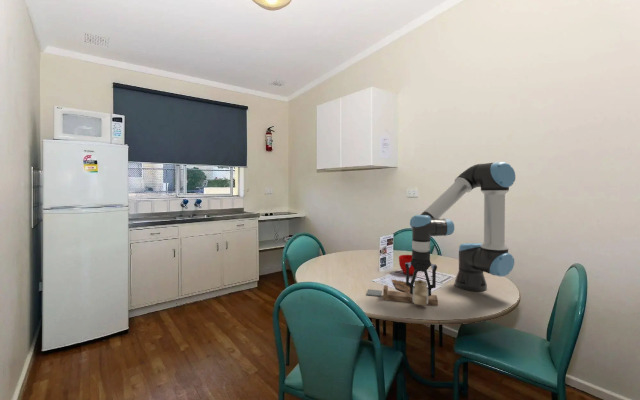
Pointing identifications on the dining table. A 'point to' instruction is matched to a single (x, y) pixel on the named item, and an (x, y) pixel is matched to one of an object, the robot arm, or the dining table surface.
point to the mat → (374, 292)
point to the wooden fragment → (401, 286)
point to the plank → (405, 296)
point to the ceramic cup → (403, 260)
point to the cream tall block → (420, 292)
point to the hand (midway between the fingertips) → (420, 301)
